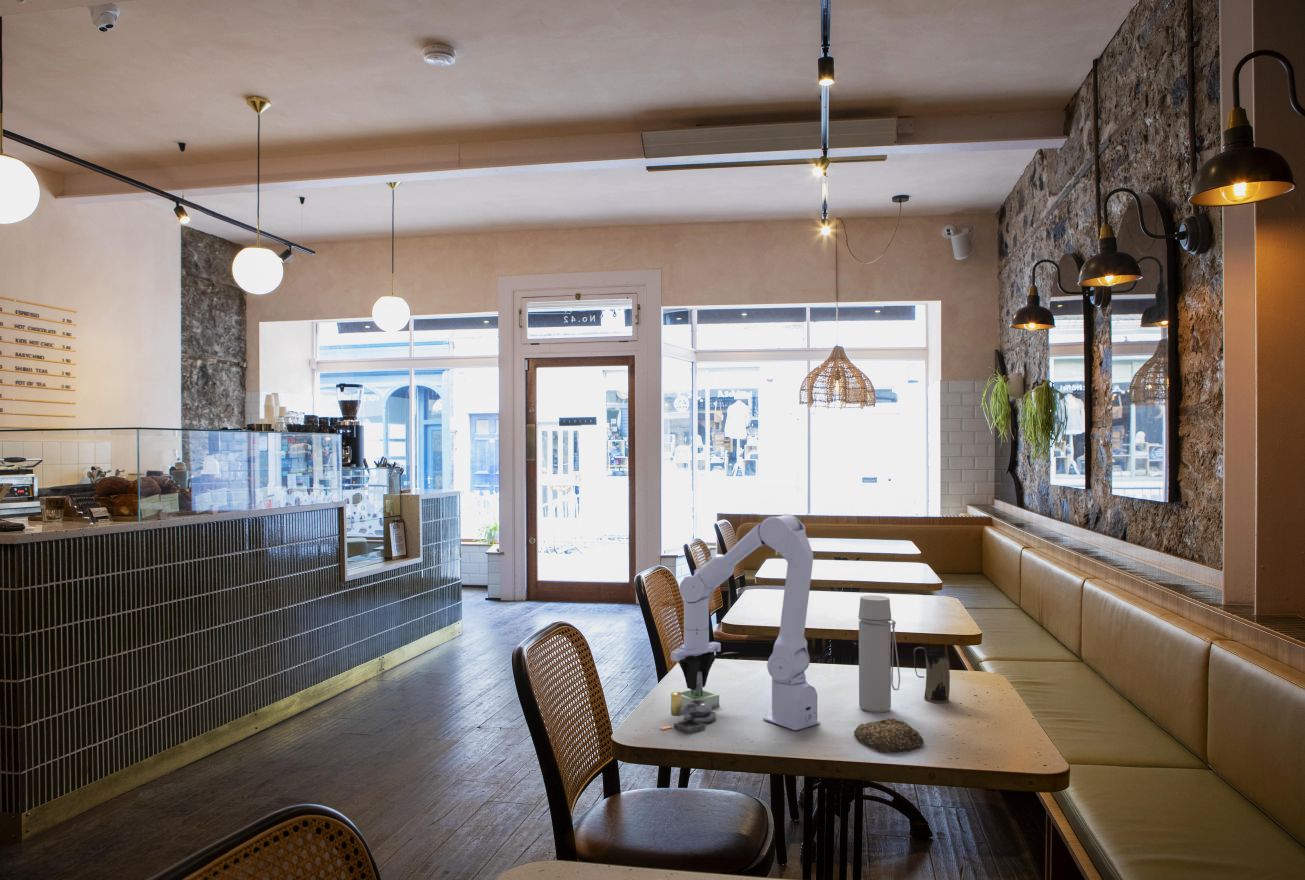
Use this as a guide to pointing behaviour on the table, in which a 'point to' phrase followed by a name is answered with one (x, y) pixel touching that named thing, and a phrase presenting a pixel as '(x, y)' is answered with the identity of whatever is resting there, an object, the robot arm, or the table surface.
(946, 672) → the mug
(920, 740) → the brown rock
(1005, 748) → the table surface
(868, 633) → the water bottle
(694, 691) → the stop pin
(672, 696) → the crank
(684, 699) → the tray
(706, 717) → the crank base
